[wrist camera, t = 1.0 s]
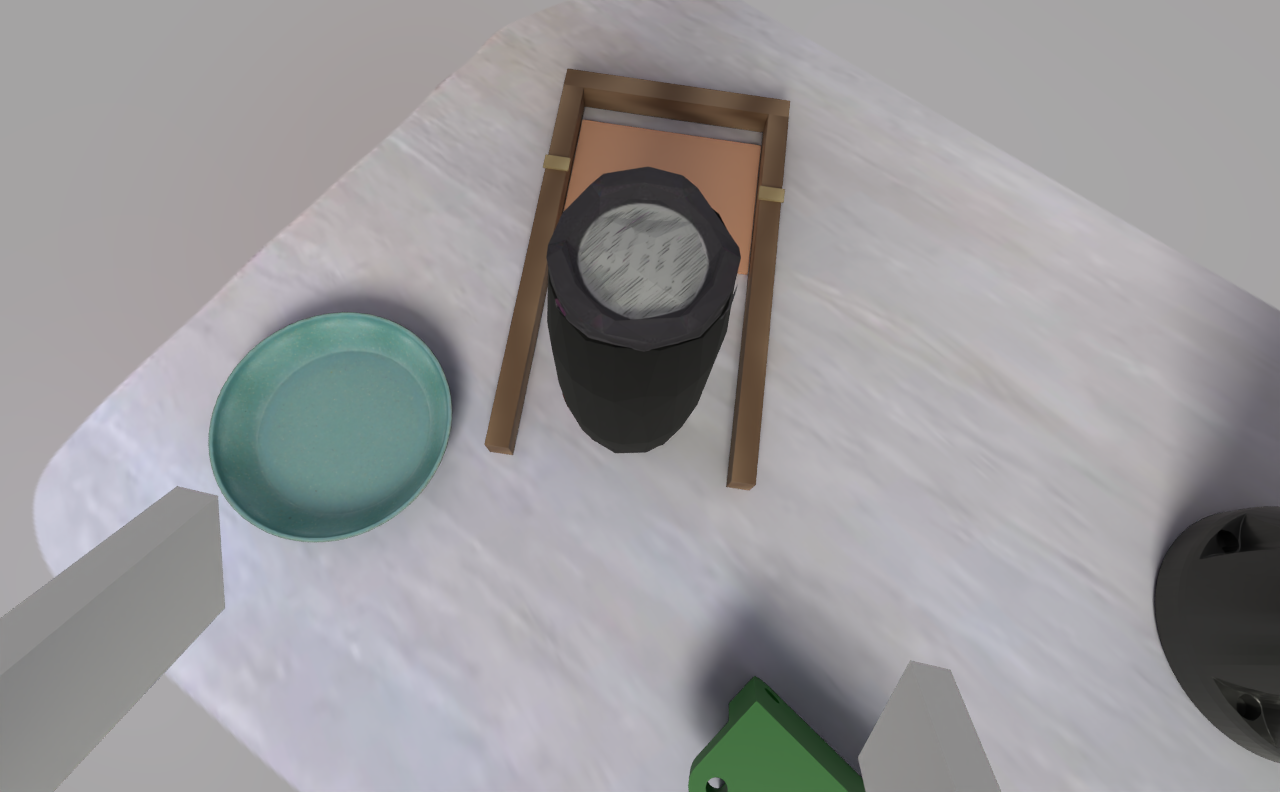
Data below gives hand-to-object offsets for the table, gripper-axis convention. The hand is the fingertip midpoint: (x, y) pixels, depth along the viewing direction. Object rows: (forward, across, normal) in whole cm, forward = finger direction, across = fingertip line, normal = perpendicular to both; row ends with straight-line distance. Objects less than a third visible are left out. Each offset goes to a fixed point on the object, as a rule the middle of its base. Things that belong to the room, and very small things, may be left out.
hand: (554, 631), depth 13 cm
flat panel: (+42, -1, +2) cm, 42 cm away
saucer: (+28, -17, -15) cm, 36 cm away
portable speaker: (+31, 0, -10) cm, 33 cm away
